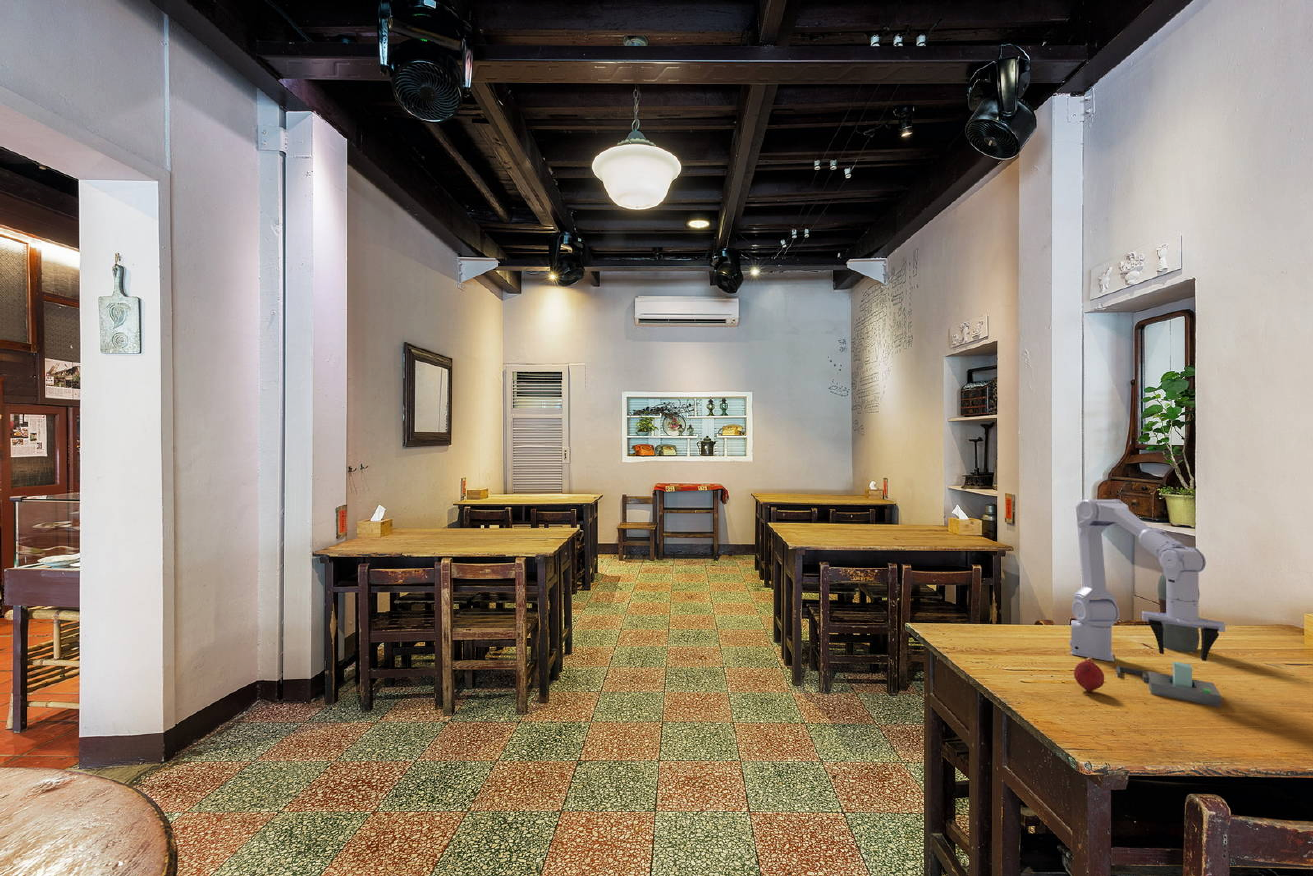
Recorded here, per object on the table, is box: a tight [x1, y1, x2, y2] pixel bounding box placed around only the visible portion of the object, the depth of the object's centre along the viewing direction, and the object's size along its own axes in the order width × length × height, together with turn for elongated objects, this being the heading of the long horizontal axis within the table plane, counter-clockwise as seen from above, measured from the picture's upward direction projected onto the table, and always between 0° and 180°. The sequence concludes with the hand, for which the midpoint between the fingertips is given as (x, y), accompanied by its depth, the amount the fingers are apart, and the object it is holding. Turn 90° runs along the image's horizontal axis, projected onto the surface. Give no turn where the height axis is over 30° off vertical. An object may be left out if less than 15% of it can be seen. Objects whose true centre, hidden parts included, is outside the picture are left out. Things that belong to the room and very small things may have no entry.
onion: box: [1073, 657, 1105, 693], centre depth 139 cm, size 6×6×8 cm
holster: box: [1116, 665, 1148, 684], centre depth 149 cm, size 6×6×1 cm
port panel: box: [1146, 671, 1222, 708], centre depth 138 cm, size 12×9×3 cm
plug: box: [1172, 661, 1193, 687], centre depth 138 cm, size 3×3×7 cm
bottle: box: [1157, 572, 1201, 653], centre depth 171 cm, size 9×9×30 cm
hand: (1182, 656), depth 138 cm, fingers open, 7 cm apart
